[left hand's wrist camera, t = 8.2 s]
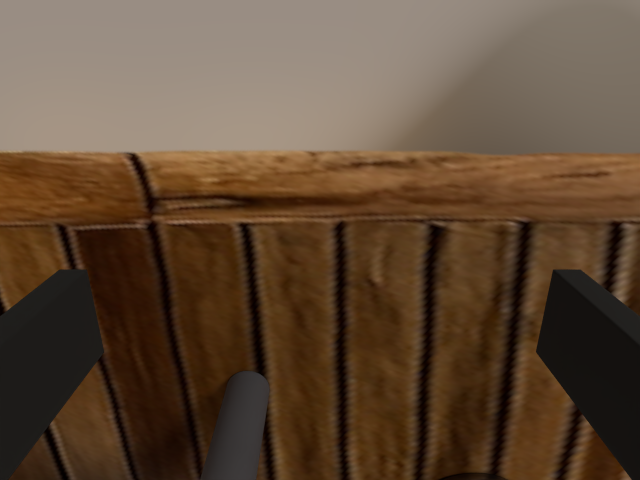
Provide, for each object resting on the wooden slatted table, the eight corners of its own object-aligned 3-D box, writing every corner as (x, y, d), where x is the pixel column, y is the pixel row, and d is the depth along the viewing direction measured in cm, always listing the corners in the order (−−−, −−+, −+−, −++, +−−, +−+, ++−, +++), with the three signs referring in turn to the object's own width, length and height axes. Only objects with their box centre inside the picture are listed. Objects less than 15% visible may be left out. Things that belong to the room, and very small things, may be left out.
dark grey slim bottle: (244, 363, 47) (197, 554, 29) (278, 386, 48) (253, 584, 30) (218, 389, 48) (157, 588, 30) (251, 411, 49) (212, 616, 31)
